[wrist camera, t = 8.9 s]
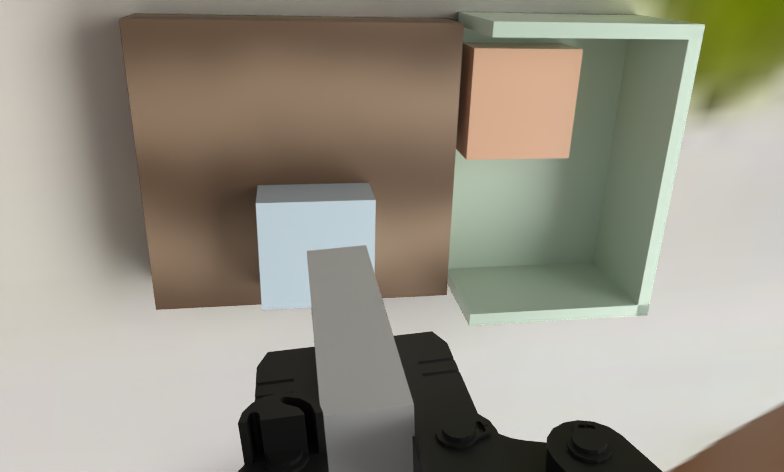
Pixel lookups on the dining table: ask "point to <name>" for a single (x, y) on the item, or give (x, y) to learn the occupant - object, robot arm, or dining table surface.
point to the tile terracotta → (517, 100)
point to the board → (290, 139)
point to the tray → (577, 177)
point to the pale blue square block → (307, 233)
